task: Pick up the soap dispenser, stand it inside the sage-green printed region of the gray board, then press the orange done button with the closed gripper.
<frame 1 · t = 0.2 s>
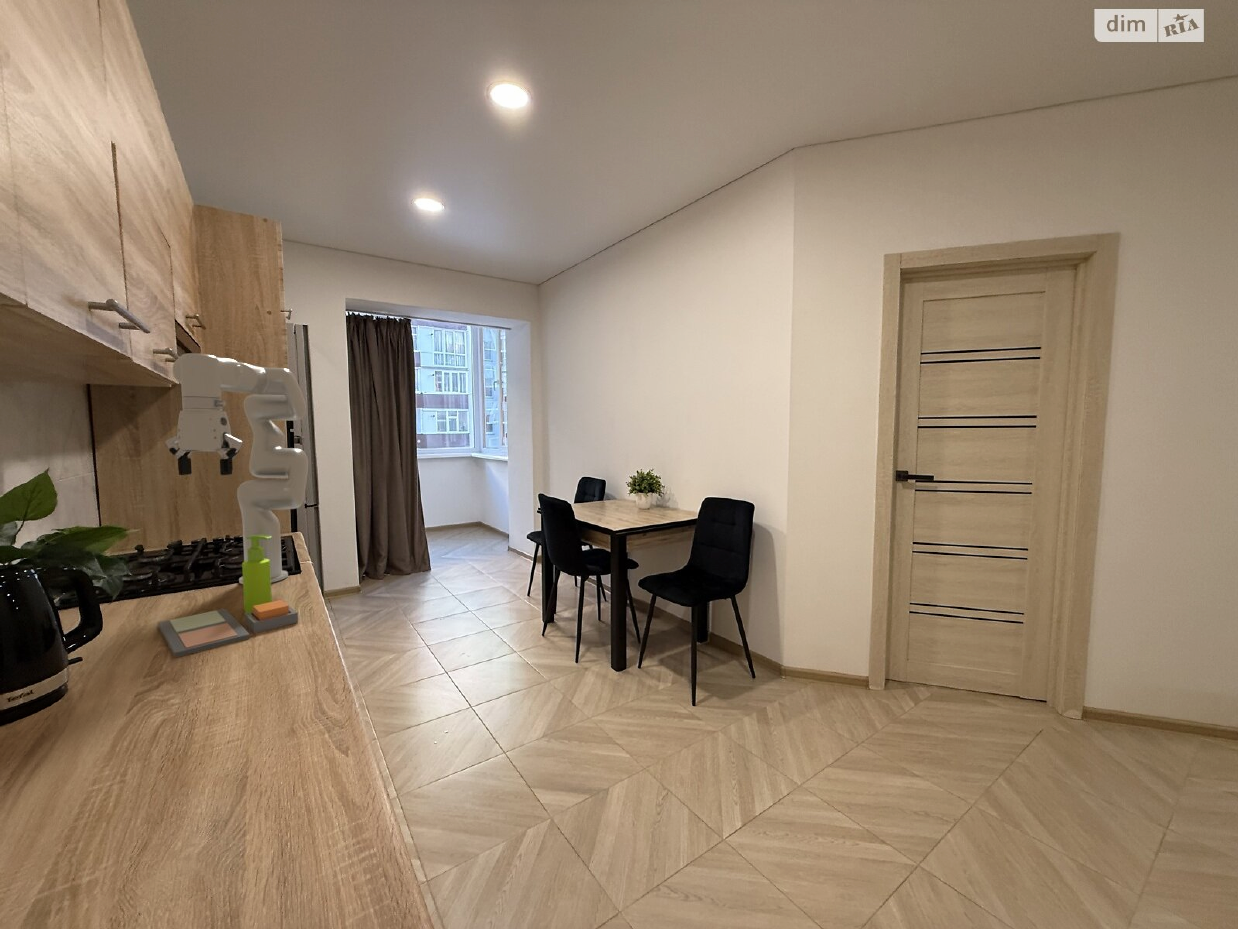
hand: (206, 474, 125), 36 cm above the counter, fingers open, 9 cm apart
done button: (270, 609, 125), point 3 cm above the counter, slide at 0.0 cm
button housing: (271, 622, 125), on the counter
gray board: (202, 632, 119), on the counter
soap dispenser: (260, 610, 133), on the counter
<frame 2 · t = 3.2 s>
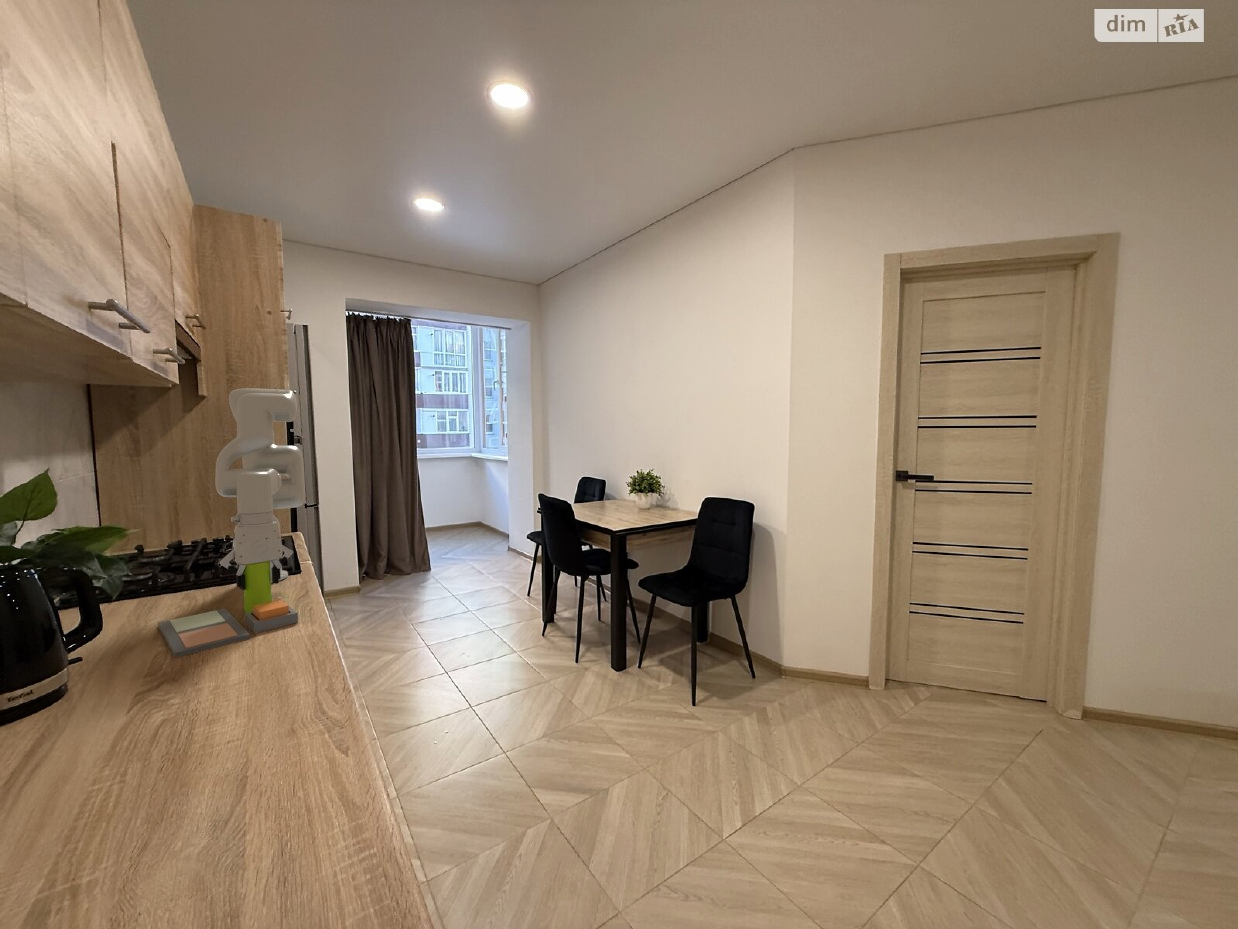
hand: (259, 585, 133), 7 cm above the counter, fingers open, 6 cm apart
soap dispenser: (260, 610, 133), on the counter, touching gripper
everything else where it was.
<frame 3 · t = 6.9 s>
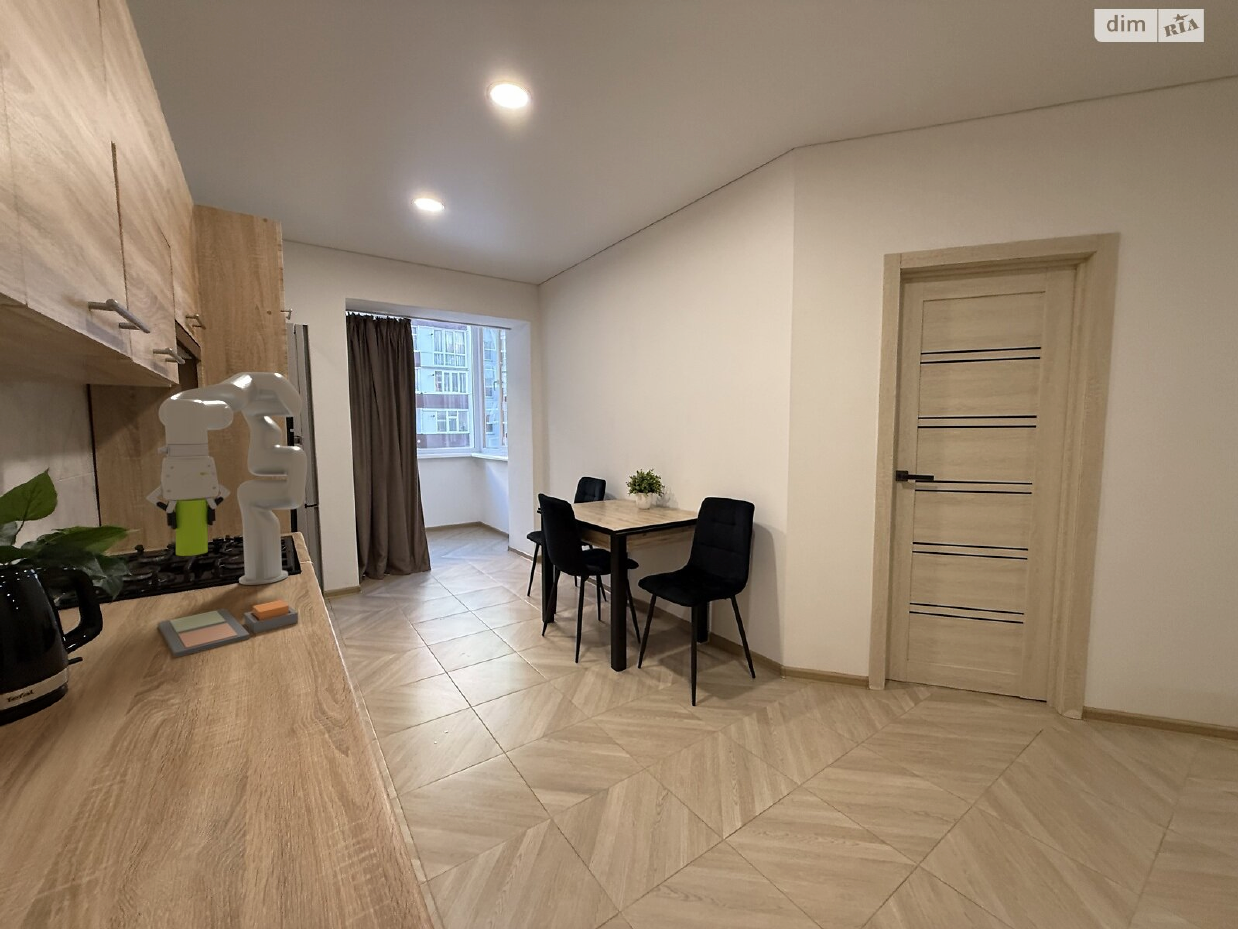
hand: (192, 525, 121), 25 cm above the counter, fingers closed on soap dispenser, 6 cm apart
soap dispenser: (194, 553, 122), point 18 cm above the counter, touching gripper
everything else where it was.
when the fingers open (9 cm above the counter, at t = 10.1 s): soap dispenser stays where it is, resting on gray board.
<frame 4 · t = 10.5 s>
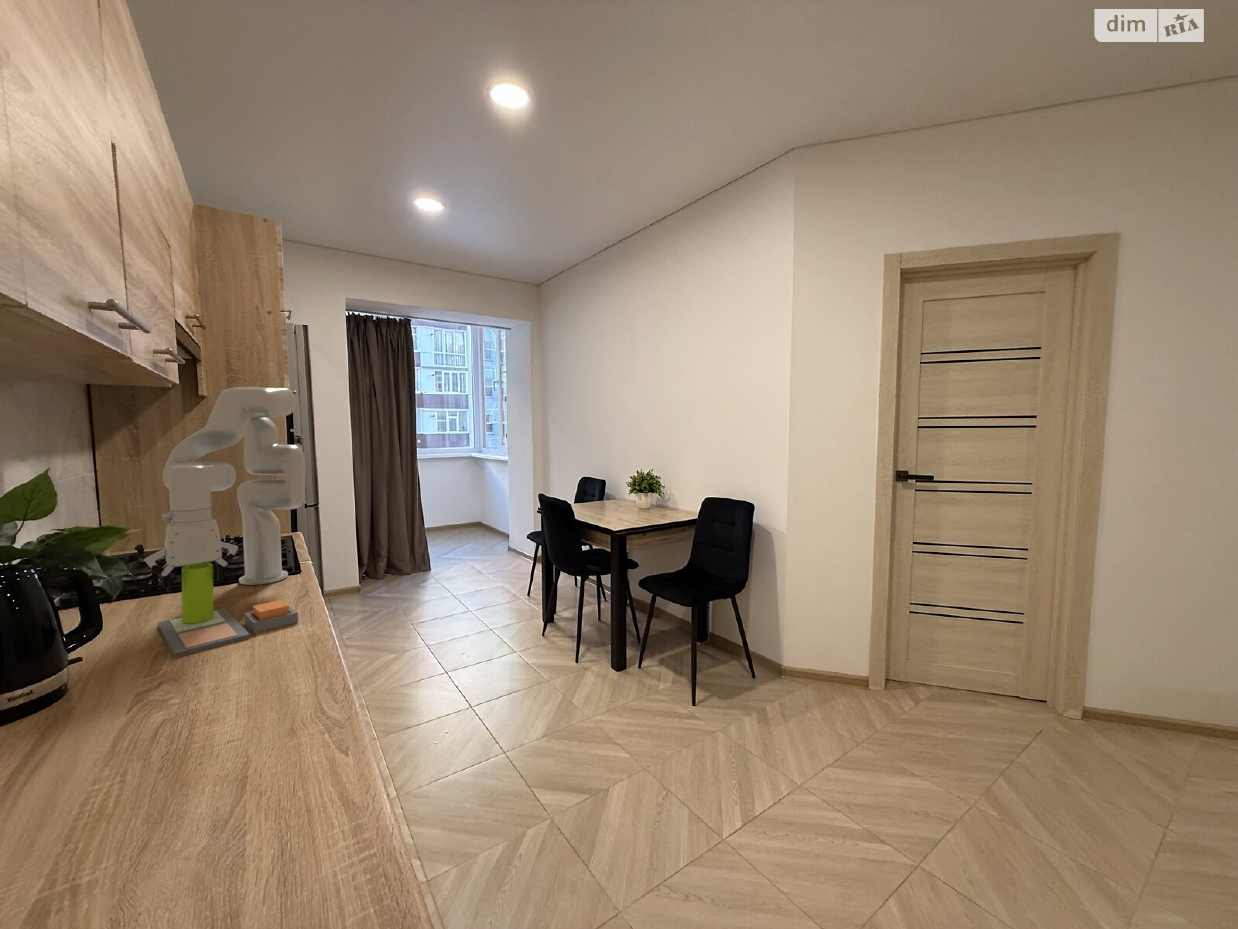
hand: (195, 586, 122), 10 cm above the counter, fingers open, 9 cm apart
soap dispenser: (200, 620, 123), point 1 cm above the counter, touching gray board
everything else where it was.
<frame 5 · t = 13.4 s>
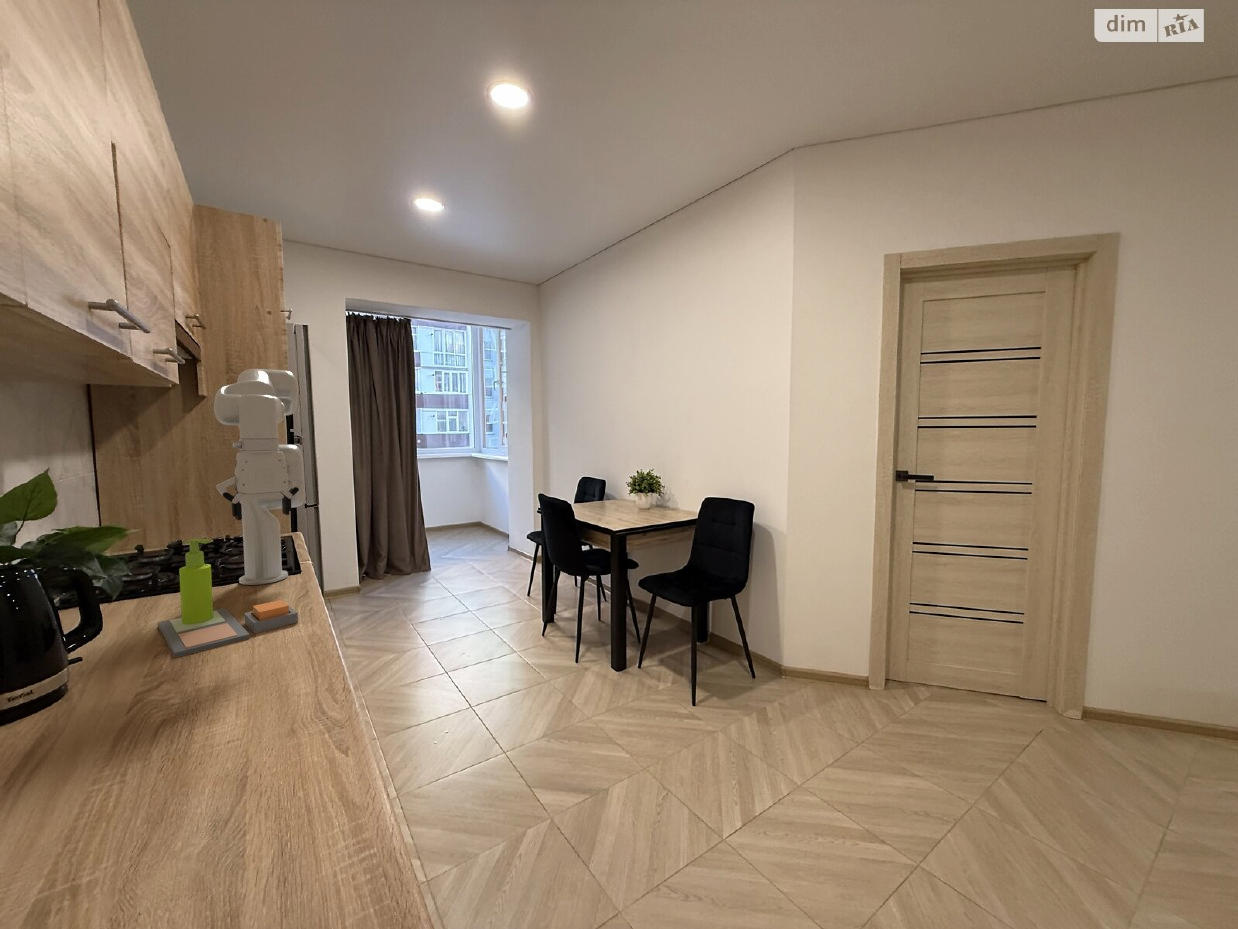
hand: (263, 516, 123), 27 cm above the counter, fingers open, 9 cm apart
nothing on the counter moved.
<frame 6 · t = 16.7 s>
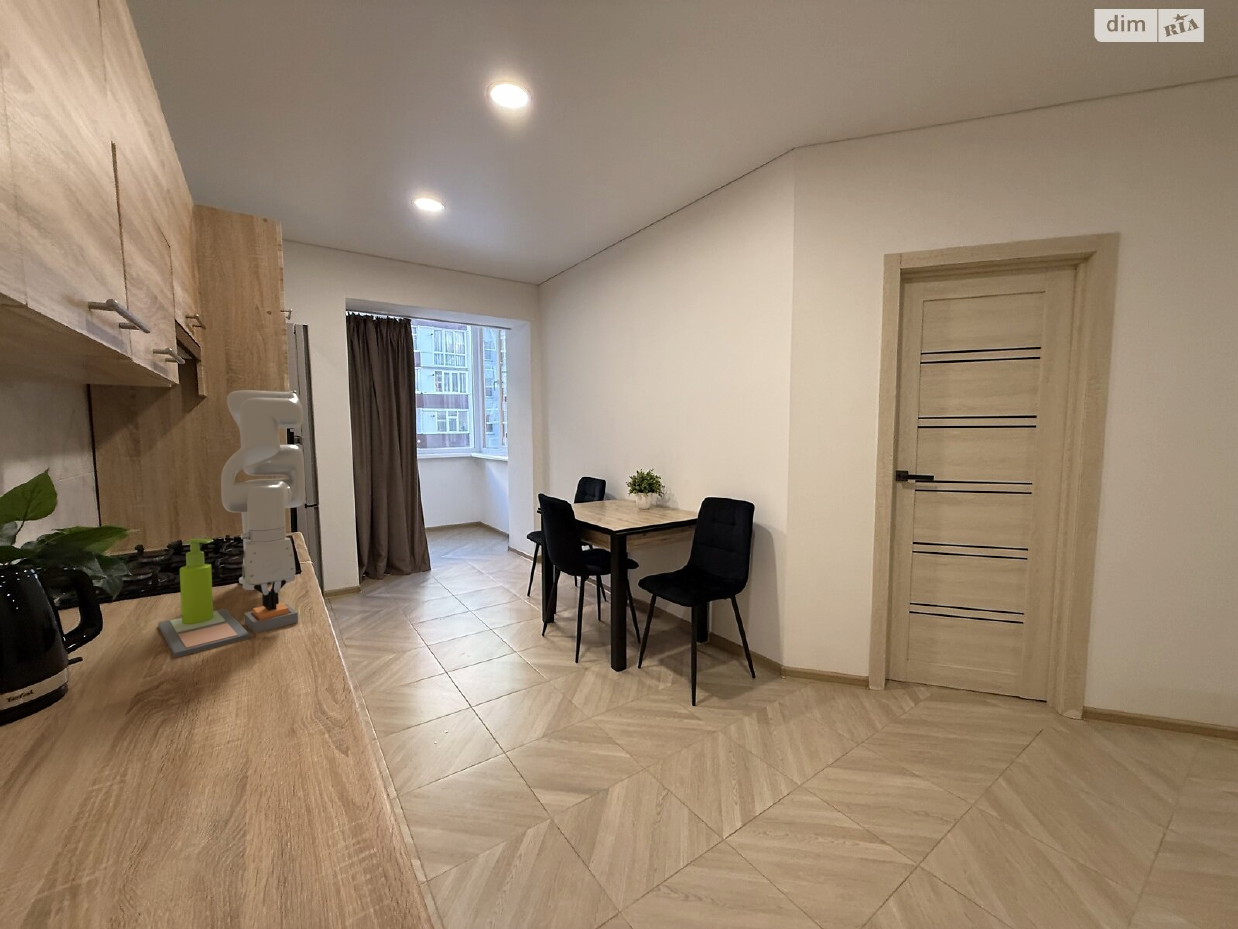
hand: (270, 608, 124), 4 cm above the counter, fingers closed
done button: (271, 612, 125), point 3 cm above the counter, slide at 0.6 cm, touching gripper
everything else where it was.
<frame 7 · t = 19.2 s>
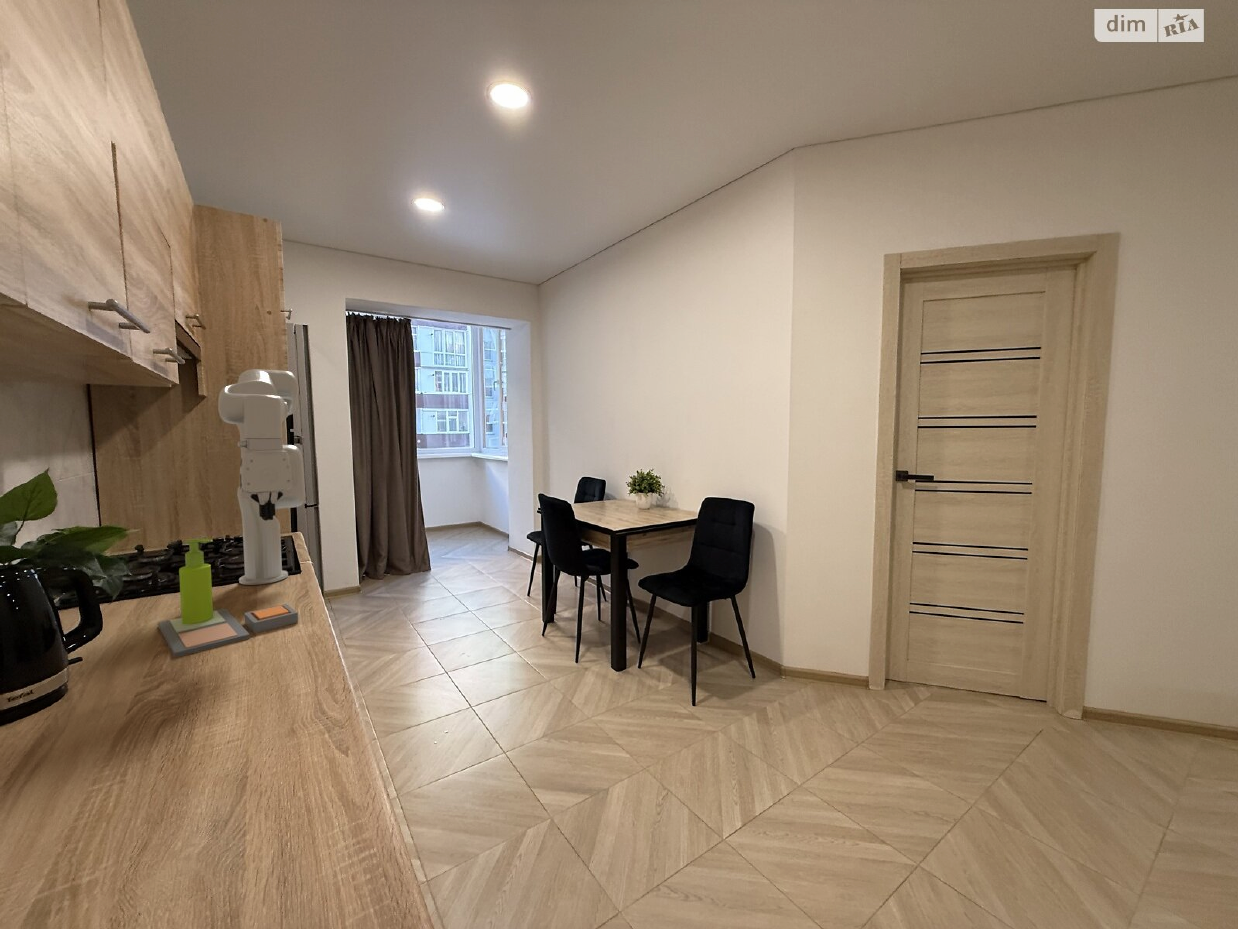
hand: (267, 519, 125), 26 cm above the counter, fingers closed
done button: (271, 615, 125), point 2 cm above the counter, slide at 1.5 cm
everything else where it was.
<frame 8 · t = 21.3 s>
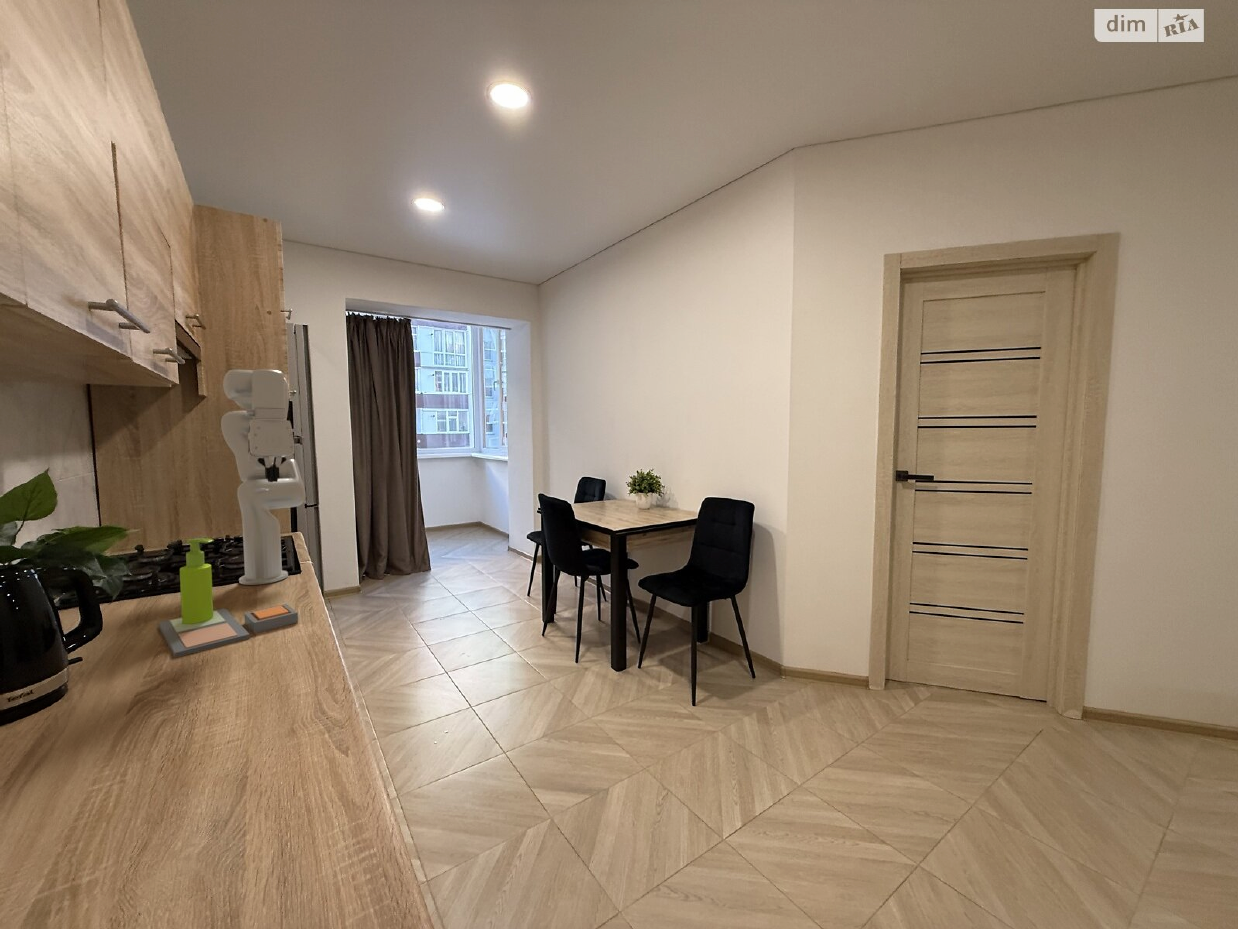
hand: (272, 481, 140), 33 cm above the counter, fingers closed
nothing on the counter moved.
at the end: soap dispenser inside the target area on the gray board (0.6 cm from its centre), point 1.0 cm above the gray board's base; soap dispenser tilted 1°; done button slide at 1.5 cm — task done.
